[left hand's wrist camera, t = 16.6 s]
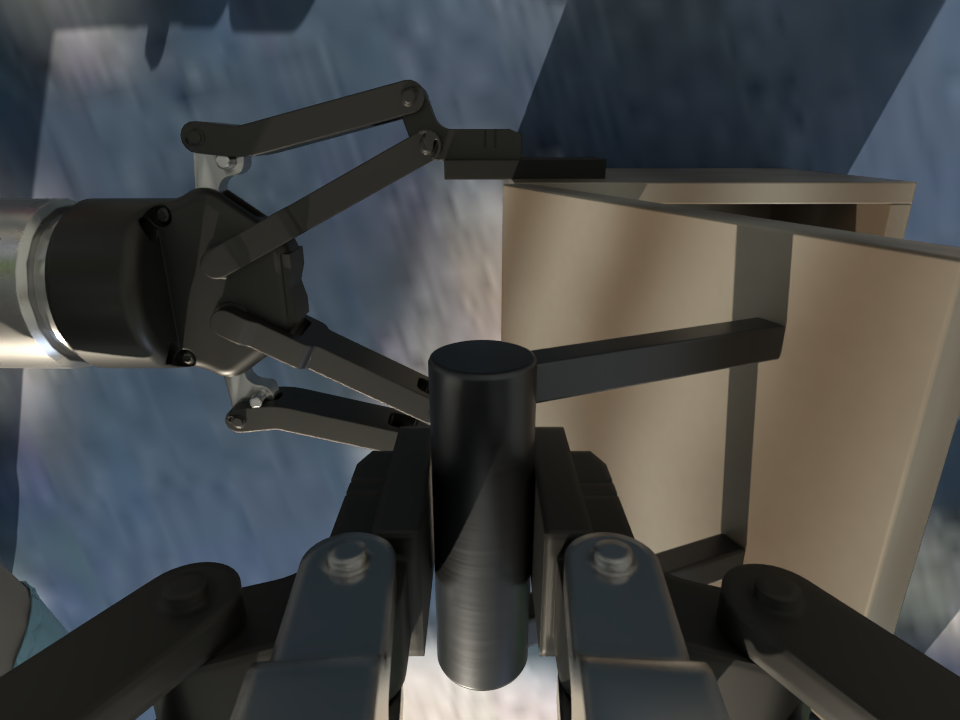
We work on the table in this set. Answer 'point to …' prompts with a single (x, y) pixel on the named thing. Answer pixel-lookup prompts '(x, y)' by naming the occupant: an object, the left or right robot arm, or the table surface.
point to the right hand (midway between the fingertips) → (591, 283)
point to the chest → (762, 195)
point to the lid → (694, 405)
